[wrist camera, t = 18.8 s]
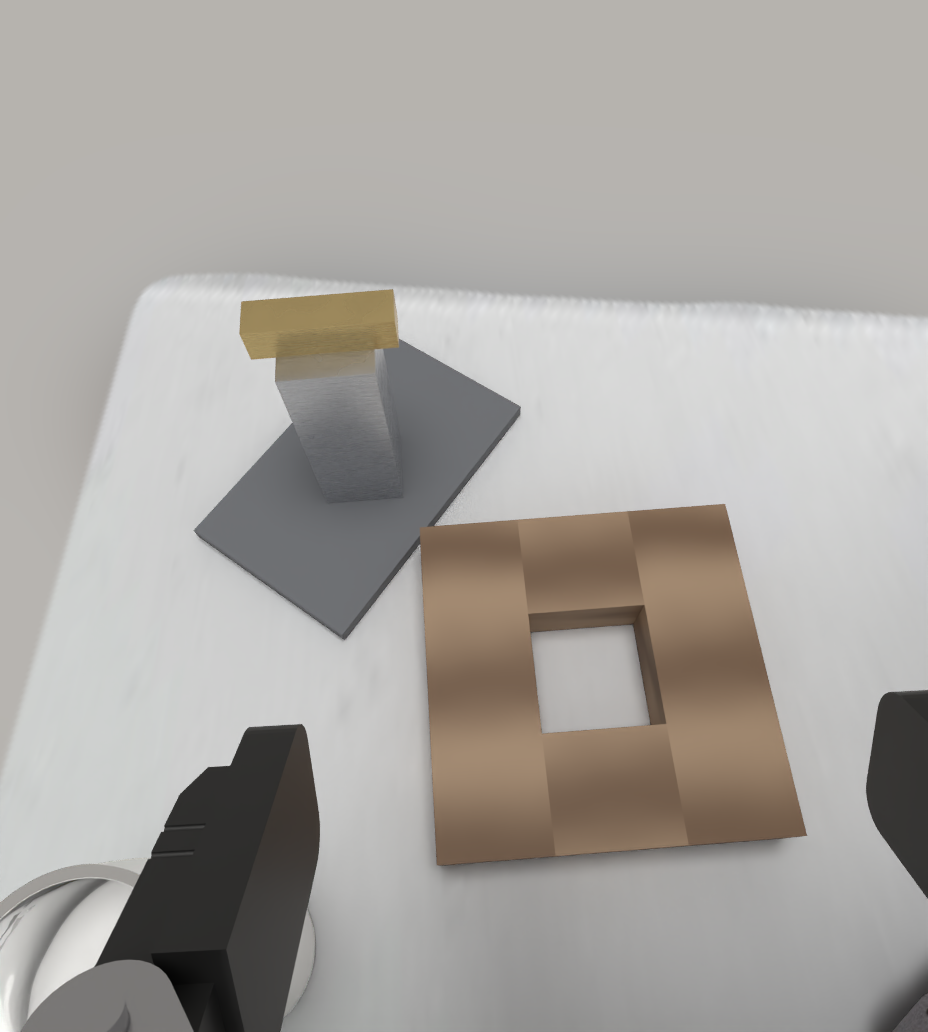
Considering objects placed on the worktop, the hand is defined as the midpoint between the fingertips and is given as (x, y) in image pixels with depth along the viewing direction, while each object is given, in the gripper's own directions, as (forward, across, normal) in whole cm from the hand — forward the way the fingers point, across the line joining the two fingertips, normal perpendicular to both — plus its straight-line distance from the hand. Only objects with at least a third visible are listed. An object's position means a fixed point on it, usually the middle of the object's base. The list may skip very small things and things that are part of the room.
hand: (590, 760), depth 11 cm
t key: (+30, +7, +4) cm, 32 cm away
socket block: (+22, -4, +13) cm, 26 cm away
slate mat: (+31, +7, +5) cm, 32 cm away
